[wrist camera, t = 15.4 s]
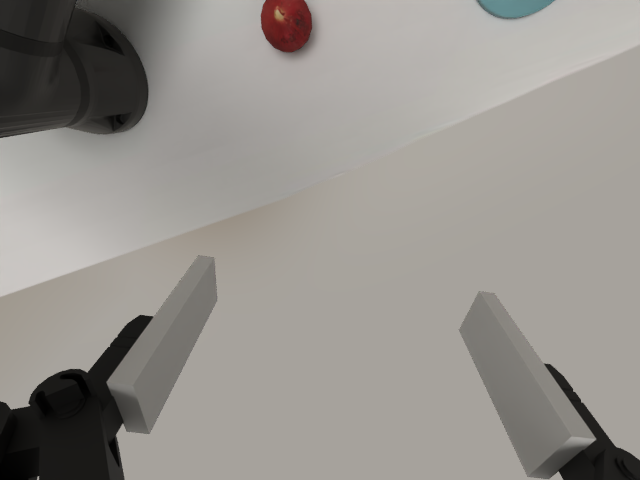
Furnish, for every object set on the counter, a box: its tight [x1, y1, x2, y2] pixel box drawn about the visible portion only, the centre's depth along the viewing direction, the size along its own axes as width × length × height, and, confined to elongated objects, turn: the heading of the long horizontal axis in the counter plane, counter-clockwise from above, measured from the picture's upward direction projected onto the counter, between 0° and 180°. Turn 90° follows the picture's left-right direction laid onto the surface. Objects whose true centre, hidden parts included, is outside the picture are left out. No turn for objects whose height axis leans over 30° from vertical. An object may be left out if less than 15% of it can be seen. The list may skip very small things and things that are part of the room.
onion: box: [261, 0, 312, 52], centre depth 34 cm, size 6×6×8 cm
